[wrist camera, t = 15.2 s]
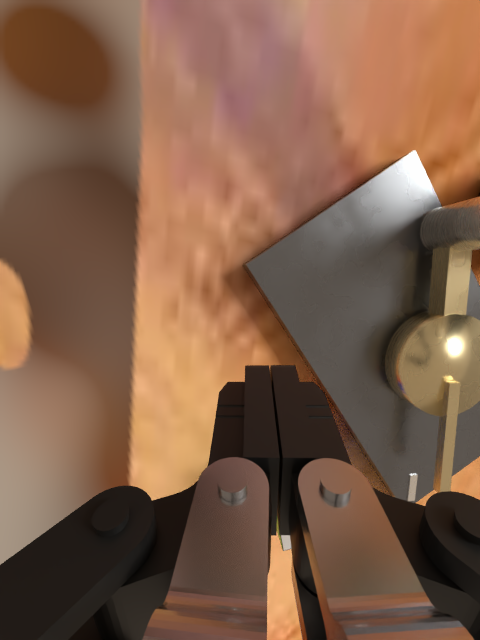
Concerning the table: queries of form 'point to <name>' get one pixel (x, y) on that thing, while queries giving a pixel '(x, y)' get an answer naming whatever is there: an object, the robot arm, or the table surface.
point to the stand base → (367, 317)
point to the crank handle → (442, 333)
